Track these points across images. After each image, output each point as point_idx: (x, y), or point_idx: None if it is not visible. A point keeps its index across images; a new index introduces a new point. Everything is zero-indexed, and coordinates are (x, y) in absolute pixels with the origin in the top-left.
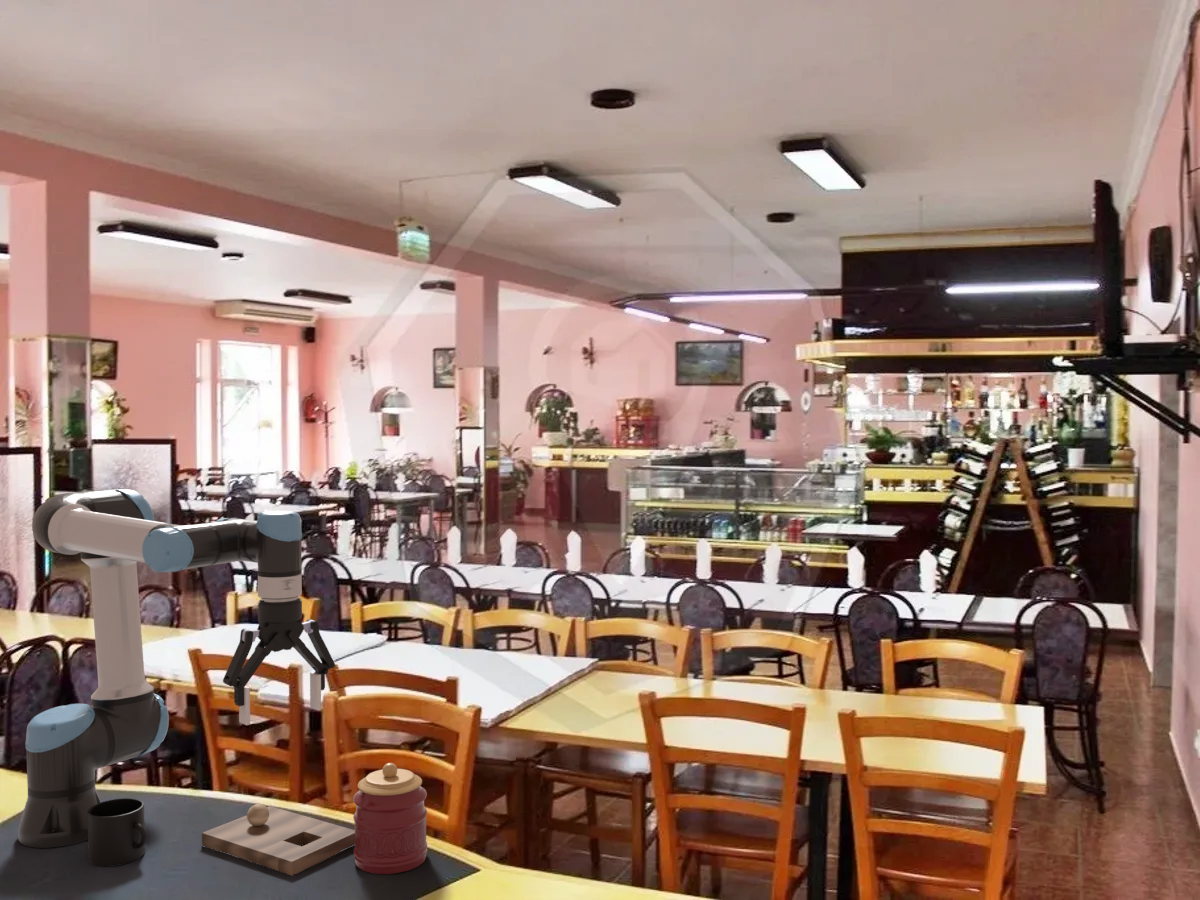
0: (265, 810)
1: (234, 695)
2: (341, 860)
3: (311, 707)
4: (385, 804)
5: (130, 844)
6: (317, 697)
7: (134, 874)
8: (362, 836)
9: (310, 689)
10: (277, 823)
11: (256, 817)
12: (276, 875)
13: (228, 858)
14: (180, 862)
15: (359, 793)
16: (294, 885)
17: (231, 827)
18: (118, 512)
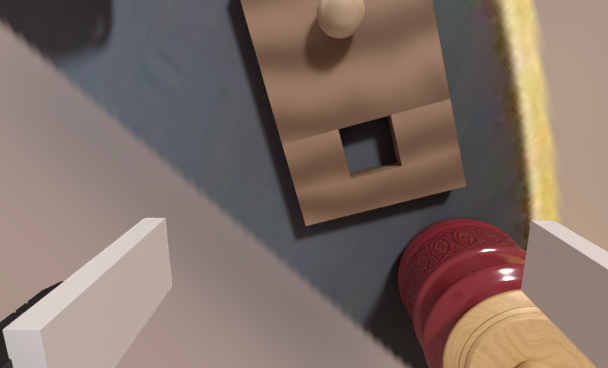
0: (350, 30)
1: (8, 320)
2: (397, 218)
3: (530, 234)
4: None
5: None
6: (562, 330)
7: (99, 26)
8: (410, 309)
9: (598, 268)
10: (374, 35)
11: (327, 33)
12: (288, 198)
13: (255, 75)
14: (180, 30)
15: (450, 320)
16: (293, 250)
17: None
18: None
